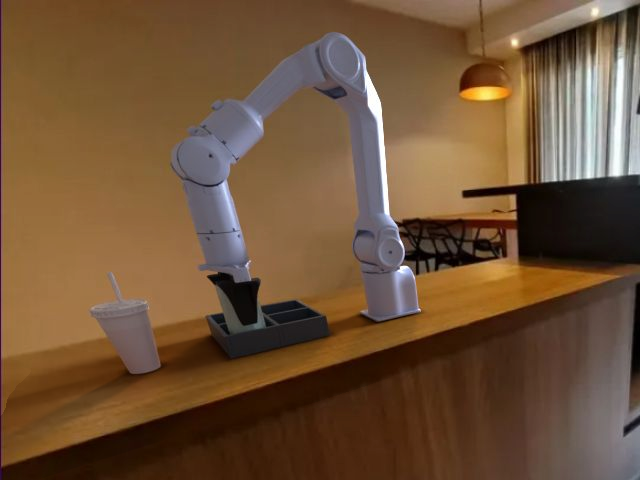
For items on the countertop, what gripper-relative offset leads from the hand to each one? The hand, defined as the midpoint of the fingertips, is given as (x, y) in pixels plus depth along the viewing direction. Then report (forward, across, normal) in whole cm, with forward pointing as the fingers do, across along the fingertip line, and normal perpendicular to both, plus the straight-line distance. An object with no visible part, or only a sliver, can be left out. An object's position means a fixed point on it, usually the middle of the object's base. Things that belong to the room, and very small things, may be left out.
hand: (245, 320), depth 71 cm
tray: (+4, -4, +4) cm, 7 cm away
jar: (+2, 0, 0) cm, 2 cm away
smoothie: (+5, -1, -14) cm, 15 cm away
